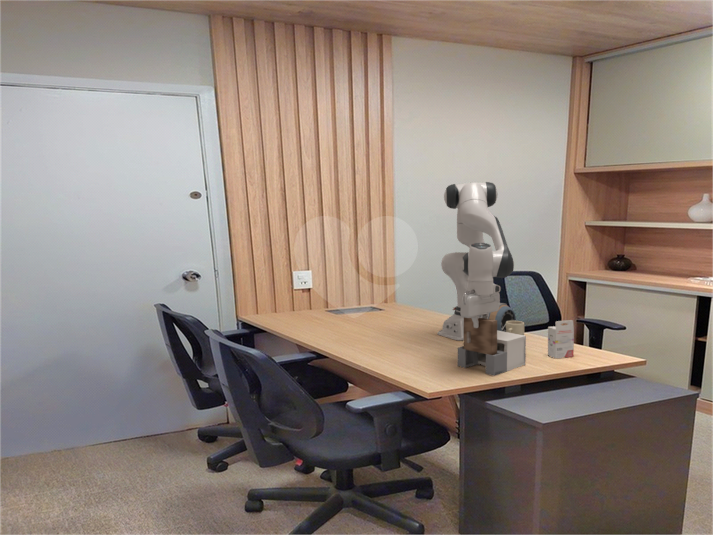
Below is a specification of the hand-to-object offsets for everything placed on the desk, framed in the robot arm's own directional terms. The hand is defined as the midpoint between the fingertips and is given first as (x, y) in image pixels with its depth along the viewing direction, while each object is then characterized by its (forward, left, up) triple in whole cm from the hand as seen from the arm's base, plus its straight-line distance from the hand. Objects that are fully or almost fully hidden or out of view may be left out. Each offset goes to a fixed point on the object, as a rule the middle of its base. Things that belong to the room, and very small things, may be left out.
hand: (480, 326), depth 184 cm
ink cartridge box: (+11, +37, -16) cm, 42 cm away
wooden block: (0, 0, -9) cm, 9 cm away
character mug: (-3, +27, -16) cm, 32 cm away
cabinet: (0, +7, -16) cm, 17 cm away
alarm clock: (-17, +38, -16) cm, 45 cm away
